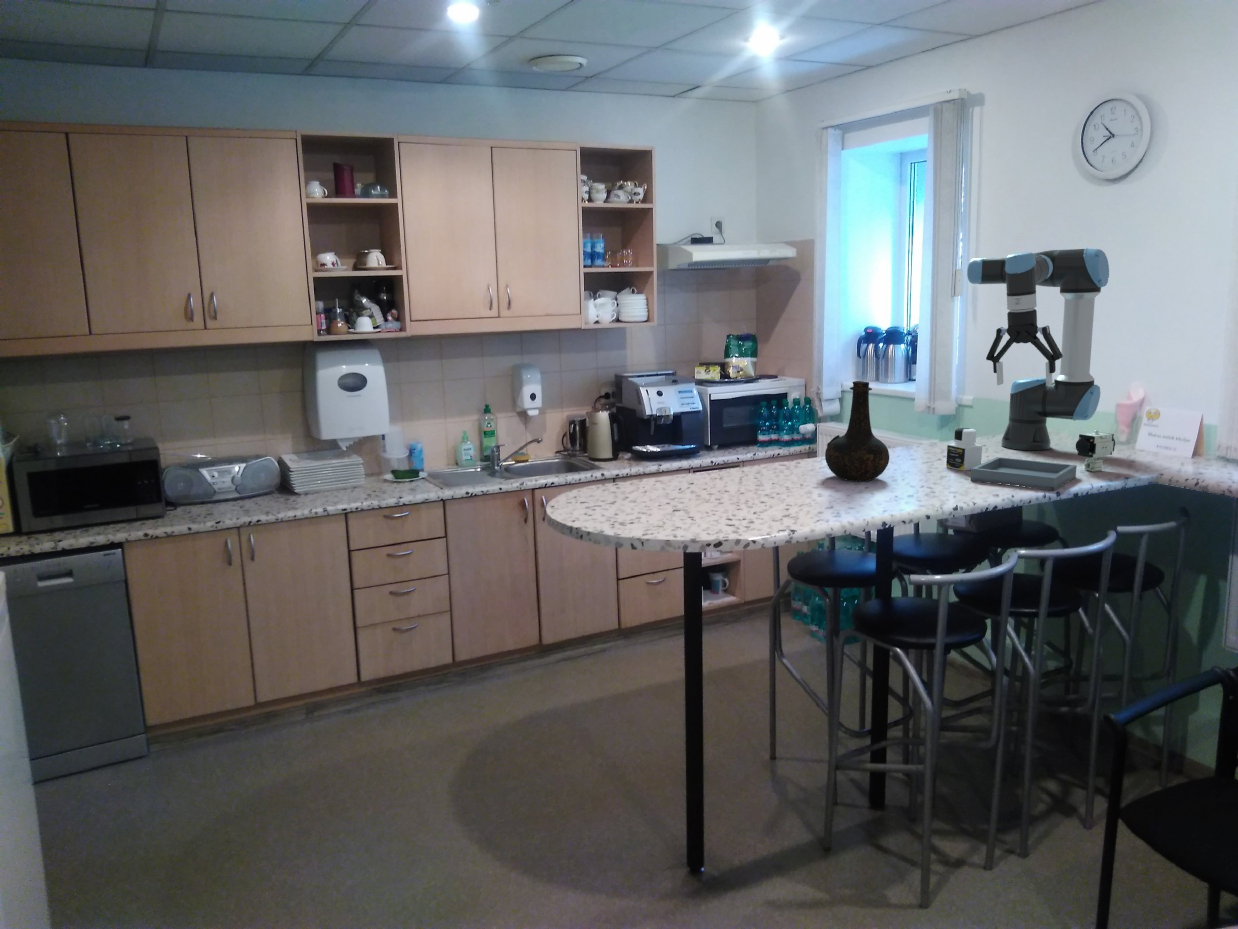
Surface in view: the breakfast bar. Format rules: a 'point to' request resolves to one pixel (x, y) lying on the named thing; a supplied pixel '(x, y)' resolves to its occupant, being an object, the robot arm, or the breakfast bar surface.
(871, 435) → the glass bottle
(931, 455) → the breakfast bar surface
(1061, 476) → the tray
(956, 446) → the medicine bottle
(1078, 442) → the pneumatic valve
